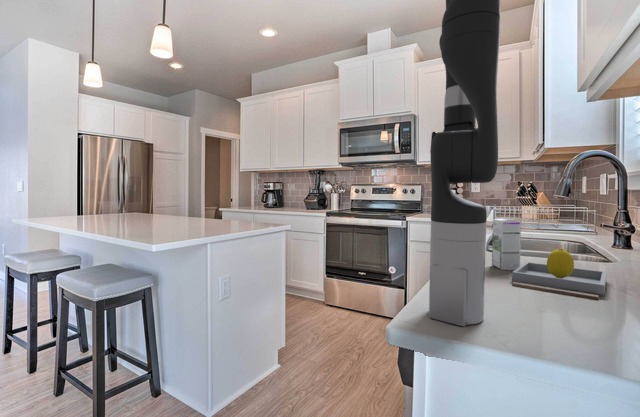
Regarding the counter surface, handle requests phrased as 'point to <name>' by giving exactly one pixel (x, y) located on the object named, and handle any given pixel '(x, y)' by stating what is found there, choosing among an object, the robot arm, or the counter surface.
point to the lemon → (560, 263)
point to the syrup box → (506, 243)
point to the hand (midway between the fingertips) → (458, 170)
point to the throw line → (556, 290)
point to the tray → (575, 281)
